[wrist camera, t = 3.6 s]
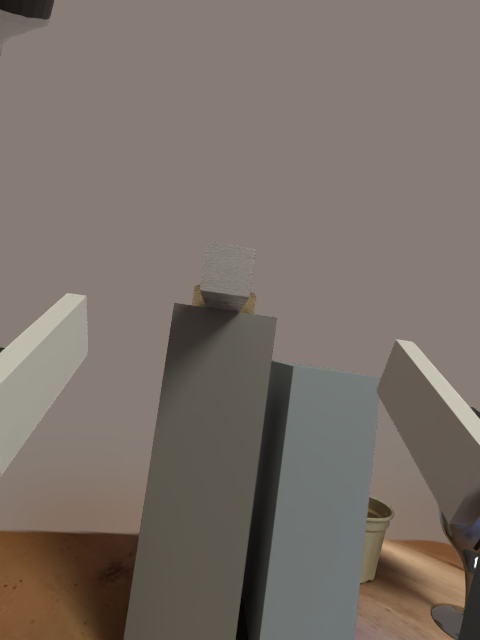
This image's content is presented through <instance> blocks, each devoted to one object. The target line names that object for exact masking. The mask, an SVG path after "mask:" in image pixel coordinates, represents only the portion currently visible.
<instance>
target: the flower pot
mask: <svg viewBox="0 0 480 640" xmlns="http://www.w3.org/2000/svg"><path fill="white" fill-rule="evenodd" d="M393 517H394V511H393V509H392V508H391V507H390V506H388V505H387V504H386V503H384V502H382V501H380V500H378V499H376V498H374V497H371V496H369V504H368V513H367V523H366V532H365V541H364V551H363V560H362V570H361V579H360V583H365V582H366V581H368V580H370V581H372V580H373V579H374V577H375V573H376V569H377V564H378V560H379V556H380V552H381V548H382V543H383V539H384V535H385V531H386V529H387V528H388V526H389V523H390V520H391V519H392V518H393Z"/></svg>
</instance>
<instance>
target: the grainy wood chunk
mask: <svg viewBox="0 0 480 640" xmlns="http://www.w3.org/2000/svg"><path fill="white" fill-rule="evenodd" d="M255 253H256V249H255V248H248V247H242V246H235V245H228V244H222V243H215V242H207V245H206V252H205V259H204V265H203V272H202V279H201V285H198V286H195V287H194V294H193V301H192V306H199V307H206V308H213V309H220V310H227V311H233V312H240V313H247V314H254V309H255V302H256V295H255V294H254V293H251V292H250V290H251V283H252V274H253V268H254V260H255Z"/></svg>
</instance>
